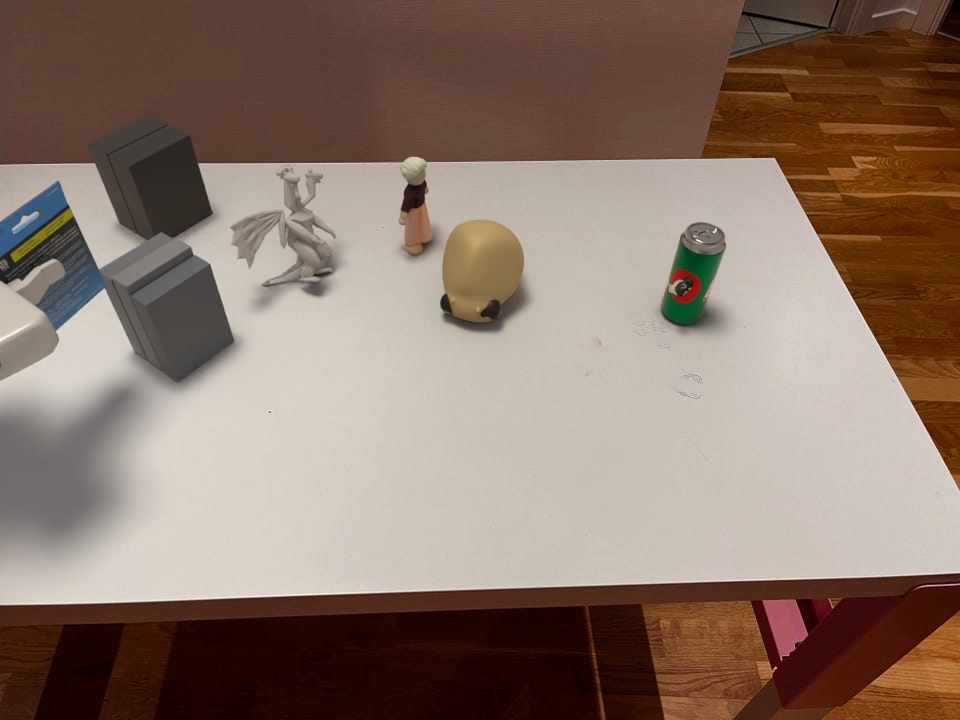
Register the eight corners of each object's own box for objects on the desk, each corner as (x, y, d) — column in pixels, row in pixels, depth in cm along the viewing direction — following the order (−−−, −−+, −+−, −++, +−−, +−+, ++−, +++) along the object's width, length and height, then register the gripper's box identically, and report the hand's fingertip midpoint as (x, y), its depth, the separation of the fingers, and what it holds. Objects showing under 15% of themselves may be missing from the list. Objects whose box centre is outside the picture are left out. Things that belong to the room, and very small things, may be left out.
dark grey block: (119, 222, 99) (86, 143, 90) (173, 191, 104) (147, 113, 95) (158, 246, 96) (128, 166, 87) (213, 213, 101) (189, 134, 92)
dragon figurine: (232, 305, 85) (197, 185, 80) (296, 261, 101) (270, 159, 96) (310, 298, 83) (279, 174, 78) (363, 254, 99) (340, 149, 94)
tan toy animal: (443, 311, 95) (415, 310, 84) (463, 218, 93) (437, 206, 83) (516, 328, 92) (497, 330, 82) (538, 233, 91) (521, 223, 81)
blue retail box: (76, 276, 72) (24, 167, 63) (108, 287, 72) (61, 178, 62) (5, 336, 67) (-63, 225, 58) (40, 348, 66) (-24, 239, 57)
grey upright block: (134, 351, 84) (94, 266, 74) (190, 312, 88) (160, 228, 79) (178, 382, 81) (142, 298, 72) (234, 340, 85) (207, 256, 76)
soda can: (705, 327, 89) (733, 248, 80) (663, 326, 89) (687, 247, 80) (697, 298, 92) (723, 220, 83) (656, 297, 92) (678, 219, 83)
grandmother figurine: (426, 261, 96) (423, 177, 86) (397, 257, 96) (391, 173, 87) (437, 225, 101) (436, 142, 91) (410, 222, 101) (405, 139, 92)
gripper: (-77, 375, 51) (99, 271, 59) (-213, 256, 59) (-42, 178, 66) (-33, 431, 56) (124, 327, 63) (-165, 313, 63) (-10, 234, 71)
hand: (38, 250), depth 65 cm, fingers closed on blue retail box, 4 cm apart
